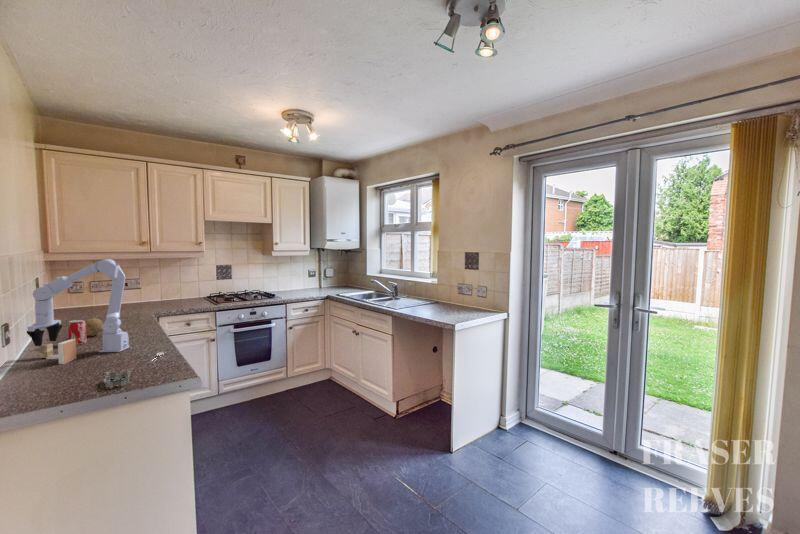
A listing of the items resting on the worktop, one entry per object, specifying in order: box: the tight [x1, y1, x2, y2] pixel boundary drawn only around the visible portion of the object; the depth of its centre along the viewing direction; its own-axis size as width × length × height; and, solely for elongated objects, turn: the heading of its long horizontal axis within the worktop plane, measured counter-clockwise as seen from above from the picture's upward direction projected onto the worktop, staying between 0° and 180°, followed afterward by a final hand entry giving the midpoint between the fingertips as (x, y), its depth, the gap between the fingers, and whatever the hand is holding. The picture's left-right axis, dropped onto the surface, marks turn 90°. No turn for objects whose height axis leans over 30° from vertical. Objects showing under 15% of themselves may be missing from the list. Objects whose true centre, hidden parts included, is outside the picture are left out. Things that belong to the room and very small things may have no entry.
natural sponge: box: [84, 317, 104, 337], centre depth 195 cm, size 9×9×10 cm
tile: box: [57, 339, 77, 365], centre depth 154 cm, size 2×7×9 cm, turn 7°
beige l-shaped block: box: [38, 343, 59, 360], centre depth 159 cm, size 10×5×6 cm, turn 97°
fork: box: [151, 351, 165, 361], centre depth 155 cm, size 3×20×2 cm, turn 15°
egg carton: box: [103, 369, 132, 387], centre depth 132 cm, size 11×8×4 cm
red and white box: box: [67, 319, 88, 346], centre depth 180 cm, size 7×7×12 cm
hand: (45, 343), depth 158 cm, fingers open, 7 cm apart
